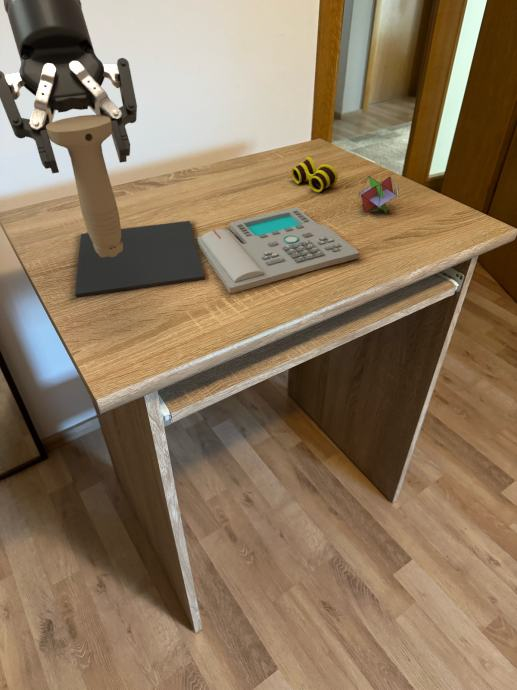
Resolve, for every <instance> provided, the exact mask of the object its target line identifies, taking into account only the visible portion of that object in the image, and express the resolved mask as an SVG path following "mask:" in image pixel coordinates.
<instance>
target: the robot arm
mask: <svg viewBox="0 0 517 690" xmlns="http://www.w3.org/2000/svg"><path fill="white" fill-rule="evenodd" d="M82 5H83V4H82V1H81V0H3V6H4V11H5V12H6V14H7V17H8V18H7V19H8V22H9V24H10V29H11V32H12V35H13V38H14V42H15V46H16V49H17V53H18V56H19V59H20V67H19V70H18V71H19V72H14V73H9V74H5V73H4V72H3V71H2V70H0V102H1V104H2V106H3V109H4V112H5V114H6V116H7V119H8V122H9V124H10V127H11V129H12V132H13V134H14V136H15V137H16V138H18V139H25V138H30V139H33V141H34V142H35V146H36V149H37V152H38V155H39V158H40V162H41V164H42V166H43V167H44V169H45V170H48V169H50V171H51V174H57V173H60V170H59V166H58V163H57V159H56V156H55V153H54V149H53V146H52V141H51V140H50V139H49V136H48V133H47V129H46V125H47V124H49V123H52V122H54V121H53V120H54V118H55V114H56V111H57V113H58V114H59V113H66V112H69V111H72V110H78V111H83V110H89V109H90V110H91V111H92V112H93V113H94V115H104V116H107V117H109V118H110V119H111V123H112V129H113V132H112V134H111V138H112V141H113V145H114V148H115V150H116V154H117V158H118V161H119V163H121V164H122V163H126V162H128V161H127V157H129V156H130V155H131V143H130V140H129V136H128V132H127V129H126V125H127V124H133V123H134V124H135V123H136V122H137V116H138V104H137V98H136V93H135V88H134V84H133V83H134V82H133V78H132V73H131V68H130V62H129V60H127V58H125V57H121V58H118V59H117V61H116V63H103V62H102V61H101V60H100V59H99V58H98V57H97V55H96V53H95V49H94V46H93V43H92V39H91V35H90V33H89V29H88V25H87V23H86V19H85V16H84V12H83V7H82ZM105 79H108V80H109V81H110V82H111V85H112V86H114V87H115V89H119V92H120V98H121V103H122V106H120V107H118V106H117V105H116V104H115V103H114V101H113V100H112V99H110V97H109V95H108V93H107V91H106V90H105V89H104V88H103V87H102V85H103V83H104V81H105ZM22 87H24V88H25V89H26V90H27V91H29V92H30V93H31V94H32V95H33V96H34V100H33V109H32V112H31V116H30V118H25V117H22V116H21V113H20V111H19V108H18V105H17V103H16V100H18V99H19V98H20V96H21V93H20V90H21V88H22Z"/></svg>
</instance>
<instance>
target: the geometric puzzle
mask: <svg viewBox="0 0 517 690" xmlns="http://www.w3.org/2000/svg"><path fill="white" fill-rule="evenodd" d="M367 181H369V182H368V183H369V186H368V187H367V188H365V187H362V188H363V189H362V191H360V192H359V193H358V195H359V198H360V201H361V205H362V208H363V211H364V213H365V214H367V213H369V214H370V213H373V212H371V211H373V210H375V209H380V210H381V211H383V213H385V214H388V211H389V209H387V207H386V204H387V203H388V202H390V203H389V205H388V207H391V206H390V205H391V204H392V200H393V199H395V198H397V197H399V193H400V189H399V185H398V183H396V182H395V180H394V179H393V178H392V176H388V177H386V178H384V179H381V180H379V181H378V180H376V179H374V178H373V177H372V176H370V175H367V178H366V179H365V181H364V185H366V184H367ZM364 188H365V189H364ZM374 207H375V208H374Z"/></svg>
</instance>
